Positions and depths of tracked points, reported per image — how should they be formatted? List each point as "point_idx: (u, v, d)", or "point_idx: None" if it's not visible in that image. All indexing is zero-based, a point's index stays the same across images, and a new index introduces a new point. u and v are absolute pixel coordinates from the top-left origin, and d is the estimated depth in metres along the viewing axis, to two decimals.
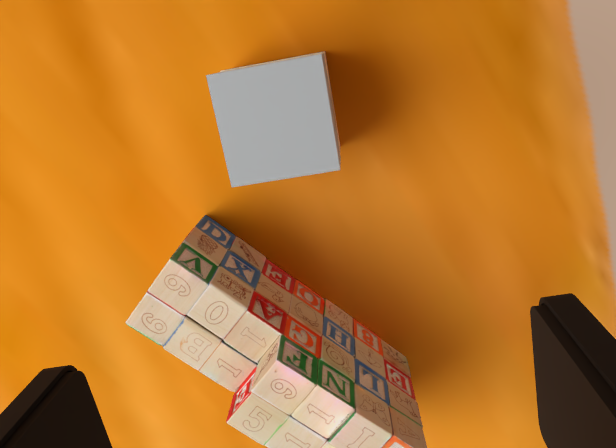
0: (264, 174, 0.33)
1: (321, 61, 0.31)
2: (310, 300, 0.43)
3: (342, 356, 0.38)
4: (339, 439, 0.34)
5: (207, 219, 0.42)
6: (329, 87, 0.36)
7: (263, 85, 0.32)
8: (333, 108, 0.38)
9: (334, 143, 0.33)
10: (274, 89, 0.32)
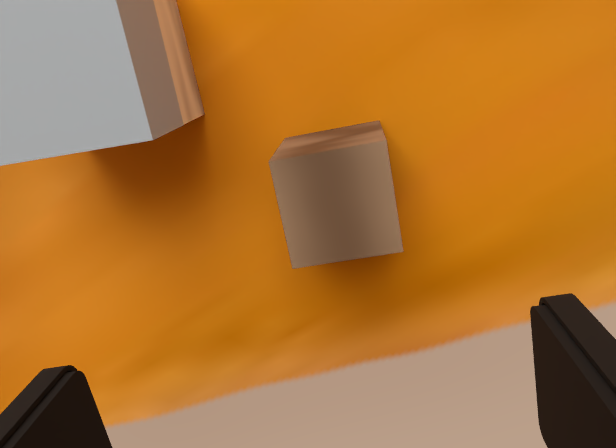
0: None
1: (142, 140, 0.21)
2: None
3: None
4: None
5: None
6: None
7: (97, 46, 0.20)
8: None
9: (27, 158, 0.21)
10: (93, 65, 0.20)
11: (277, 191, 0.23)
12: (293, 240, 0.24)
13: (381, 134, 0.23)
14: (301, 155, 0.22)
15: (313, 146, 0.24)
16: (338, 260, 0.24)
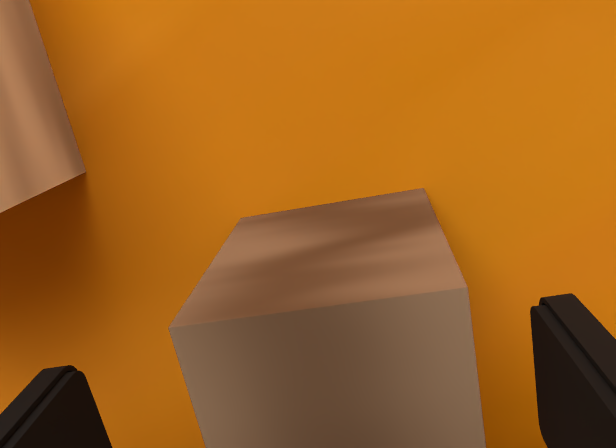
0: None
1: None
2: None
3: None
4: None
5: None
6: None
7: None
8: None
9: None
10: None
11: (194, 393, 0.09)
12: None
13: (444, 250, 0.10)
14: (249, 314, 0.09)
15: (284, 271, 0.10)
16: None
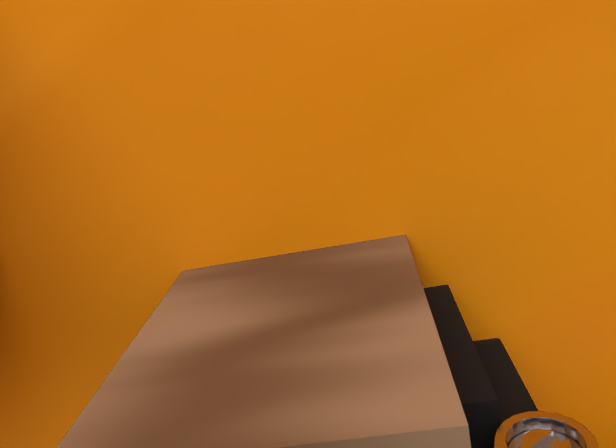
0: None
1: None
2: None
3: None
4: None
5: None
6: None
7: None
8: None
9: None
10: None
11: None
12: None
13: (433, 346, 0.07)
14: None
15: (217, 372, 0.08)
16: None
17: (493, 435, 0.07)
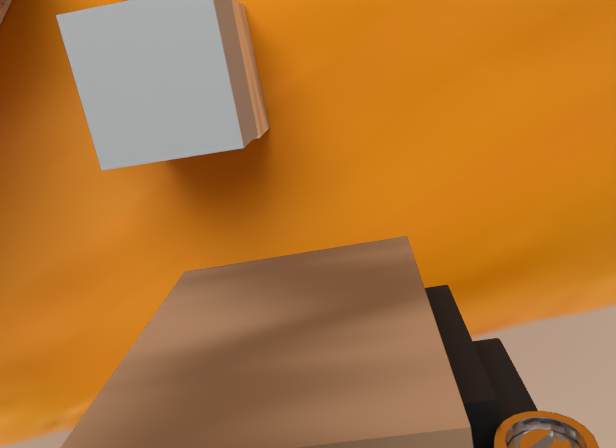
0: (81, 65, 0.24)
1: (234, 148, 0.24)
2: None
3: None
4: None
5: None
6: None
7: (201, 69, 0.23)
8: None
9: (134, 163, 0.25)
10: (196, 85, 0.24)
11: None
12: None
13: (435, 348, 0.07)
14: None
15: (219, 373, 0.08)
16: None
17: (493, 435, 0.07)
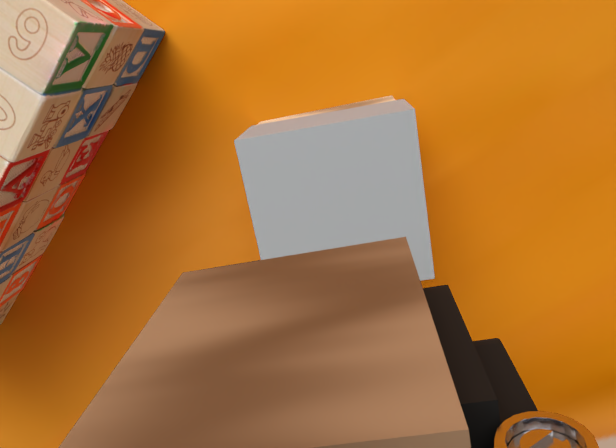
0: (258, 193, 0.21)
1: (424, 278, 0.22)
2: (56, 204, 0.29)
3: None
4: None
5: (158, 37, 0.27)
6: None
7: (395, 197, 0.21)
8: None
9: None
10: (388, 213, 0.21)
11: None
12: None
13: (433, 350, 0.07)
14: None
15: (217, 375, 0.08)
16: None
17: (493, 435, 0.07)
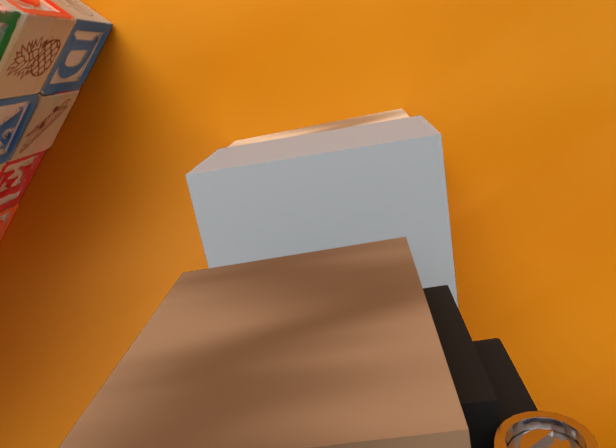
0: (220, 247, 0.15)
1: None
2: None
3: None
4: None
5: (103, 31, 0.21)
6: None
7: None
8: None
9: None
10: None
11: None
12: None
13: (433, 349, 0.07)
14: None
15: (217, 374, 0.08)
16: None
17: (493, 435, 0.07)
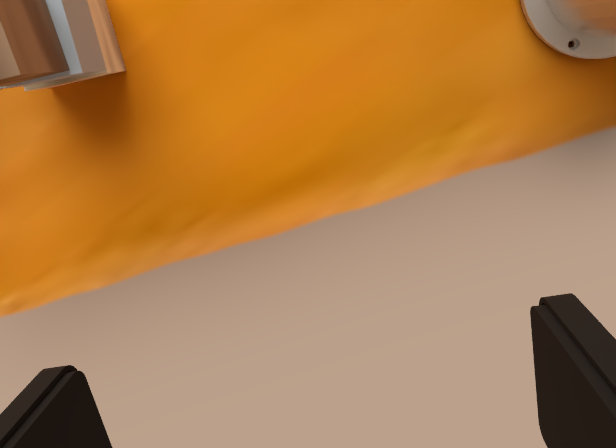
0: None
1: (76, 72, 0.37)
2: None
3: None
4: None
5: None
6: (84, 78, 0.42)
7: None
8: (73, 81, 0.44)
9: (13, 84, 0.38)
10: None
11: None
12: None
13: None
14: None
15: None
16: None
17: None
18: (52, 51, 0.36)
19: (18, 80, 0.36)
